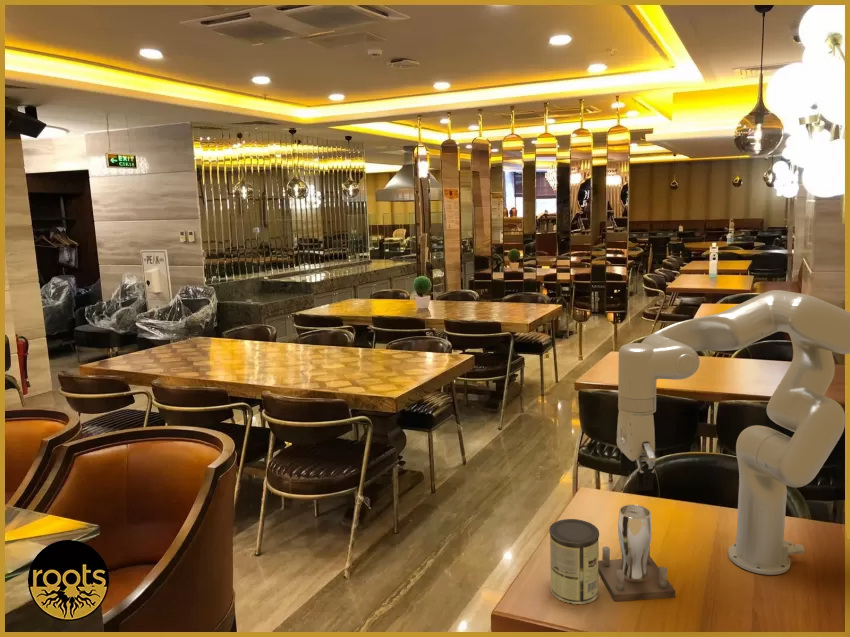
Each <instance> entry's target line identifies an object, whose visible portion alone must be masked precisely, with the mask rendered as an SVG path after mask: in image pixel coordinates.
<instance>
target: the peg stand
mask: <svg viewBox="0 0 850 637" xmlns="http://www.w3.org/2000/svg"><path fill="white" fill-rule="evenodd" d="M601 553H602V555H601V556H602V557H601V558H602V559H601V560H600V559H599V560H598V576H599V577H600V576H601V577H600V579H601V580H602V581H603V583H604V586H605V585H606V586H605V588H606V589H607V591H608V593H609V595H610V596H611V598H612V601H613V602H623V601H624V602H626V601H639V600H640V599H641V601H642V600H653V599H657V600H658V599H669V598H676V590H675V588H674V586H673V585H672V584H671V582H670V581H669V580H668V568H667V567H665V566H660V567H659V566H658V565H657V564H656V562H655V560H653V558H652V557H651V547H650V548H649V552H648V557H647V569H648V575H649V577H648V579H647V580H646V581H644V582H640V583H635V582H630V581H627V580H625V579H624V571H623V570H620V566H621V560H622V558H620V559H611V548H610V547H608V546H603V547H602V552H601Z"/></svg>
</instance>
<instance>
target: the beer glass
mask: <svg viewBox="0 0 850 637" xmlns="http://www.w3.org/2000/svg"><path fill="white" fill-rule="evenodd" d="M618 512H619V513H618V520H617V522H618V523H617V535H618V542H619V549H620V554H621V559H622V560H621V566H620V570H623V571H624V579H625V580H627V581H630V582H635V583H640V582H644V581H646V580H647V579H648V577H649V575H648V569H647V557H648V552H649V548H650V549H651V544H652V532H653V527H652V525H653V523H652V511H651V510H650V509H649V508H648V507H645V506H643V505H639V504H625V505H622V506H621V507H619V510H618Z"/></svg>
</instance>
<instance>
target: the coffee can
mask: <svg viewBox="0 0 850 637" xmlns="http://www.w3.org/2000/svg"><path fill="white" fill-rule="evenodd" d="M548 531H549V548H550V550H549V551H550V553H549V554H550V555H549V556H550V557H549V558H550V562H549V563H550V592H551V594H552V595H553V597H554V598H556V599H557V598H558V599H557V600H559V601H560V600H562V601H561V602H563V603H565V602H567V603H566V604H569V603H572V604H571V605H576V604H580V605H587V603H588V604H589V603H592V602H594V601H595V600H597V598H598V597H599V594H600V592H599V573H598V561H599V557H600V556H599V537H600V530H599V528H598V527H597V526H595V524H593V523H592V522H589V521H586V520H582V519H577V518H564V519H561V520H557V521H555V522H554V523H552V524H551V525H550V526H549V530H548Z"/></svg>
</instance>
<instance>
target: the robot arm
mask: <svg viewBox="0 0 850 637" xmlns="http://www.w3.org/2000/svg"><path fill="white" fill-rule="evenodd" d="M777 332H783V333H787V334H788V335H789V337H790V341H791V344H792V350H793V352H792V353H793V354H792V360H791V363H790V365H789V367H788V369H786V372H785V374H784V376H783V377H782V379H781V380H780V382H779V384H778V385H777V387H776V389H775V390H774V392H773V393H772V394H771V397H770V399H769V400H768V403H767V405H766V415H767V416H768V418H769V419H770V420H771V421H772V422H773V423H775V424H776V425H778V426H780V427H782V428H784V429H787V430H789V431H791V432H794V433H793V434H792V436H791V437H790V436H789V435H787V434H784V433H782V432H781V431H779V430H776V429H774V428H771V427H769V426H765V425H758V424H755V425H750V426H748V427H746V428H745V429H743V430H742V431H741V432H740V433H739V435H738V437H737V440H736V443H735V444H736V445H735V452H736V459H737V465H738V473H739V474H738V476H739V478H738V484H739V485H738V499H737V502H738V503H737V516H736V536H735V537H736V539H735V540H736V541H735V543H732V544H731V545H730V546H729V547H728V552H727V555H728V558H729V559H730V561H731V562H732V563H733V564H735V565H736V566H738V567H739V568H741V569H743V570H746V571H748V572H750V573H754V574H757V575H758V574H759V575H768V576H776V575H782V574H784V573H786V572H788V571H789V569H790V567H791V560H790V556H791V555H792V554H795V555H798V554H799V555H800V554H801V555H802V554H805V547H804V546H803V545H802V544H793V543H792V541H791V540H785V526H786V525H785V524H786V513H787V512H786V509H787V508H786V507H787V496H788V490H787V486H788V487H790V488H802V487H804V486H806V485H808V484H810V483H811V482H812V481H813V480H814V479H815V478H816V477H817V475H818V474H819V472H820V470H821V469H822V468H823V466H824V464H825V462H826V461H827V459H828V458H829V456H830V455H831V453H832V452H833V450H834V448H836V445H837V444H838V441H840V439H841V437H842V435H843V433H844V429H845V426H846V414H845V410H844V408H843V406H842V405H841V404H840V403H839V402H837V401H836V400H835V399H833V398H830V397H827V396H826V392H827V390H828V389H829V387H830V385H831V383H832V382H833V379H834V377H835V373H836V372H835V370H836V366H835V360H834V355H833V353H836V354H840V355H848V354H850V311H848V310H846V309H844V308H841V307H839V306H837V305H834V304H832V303H830V302H827V301H825V300H823V299H820V298H818V297H816V296H813V295H809V294H807V293H798V292H793V291H787V290H782V289H781V290H780V289H776V290H775V289H772V290H768V291H766V292H764V293H761V294H759V295H756V296H754V297H752V298H750V299H748V300H746V301H743V302H742V303H738V304H736V305H735V306H733V307H730V308H728V309H726V310H724V311H721V312H719V313H715V314H710V315H704V316H699V317H696V318H691V319H687V320H683V321H679V322H675V323H673V324H670V325H668V326H665V327H664V328H661V329H659V330H657V331H655V332H652V333H651V334H649V335H647V336H646V337H645V338H644V339H643V340H642V341H641V342H632V343H631V342H630V343H629V342H628V343H627V344H623V345H621V347H620V348H619V349H618V370H617V372H618V374H617V375H618V377H617V380H618V383H617V384H618V387H617V388H618V390H617V392H618V394H617V396H618V397H617V398H618V400H617V402H618V403H617V408H618V413H617V415H618V416H617V426H616V427H617V428H616V429H617V430H616V444H617V445H616V446H617V447H618V449H619V451H620V458H619V459H620V461H619V462H620V463H619V464H620V468H619V469H620V471H621V472H629V471H630V472H632V471H636V467H637V468H638V471H636V490H637V491H639V492H643V491H652V490H654V473H655V468H656V462H657V461H656V460H657V459H656V455H655V452H656V441H655V440H656V436H655V420H654V413H656V412H657V380H673V381H675V380H676V381H679V380H685V379H688V378H690V377H692V376H693V375H695V374H696V372H697V371H698V369H699V367H700V362H701V361H700V356H699V354H698V353H697V352H700V351H719V352H721V351H722V352H725V351H736V350H740V349H743V348H745V347H747V346H749V345H751V344H753V343H756V342H758V341H759V340H761V339H765V338H766V337H768V336H771V335H773V334H775V333H777ZM642 462H646V463H644V464H643V463H642ZM636 464H637V466H636Z"/></svg>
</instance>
